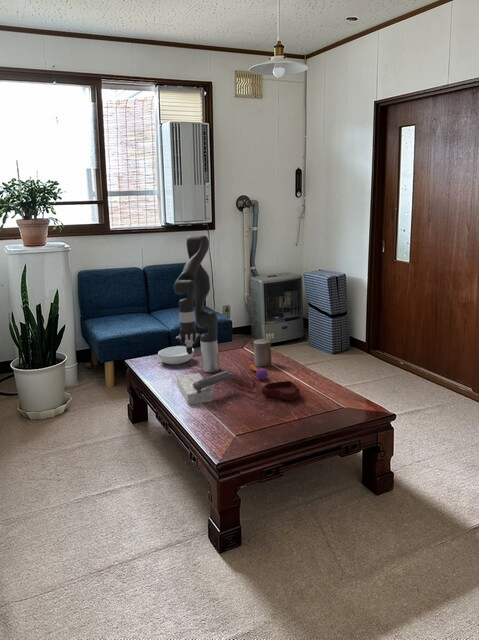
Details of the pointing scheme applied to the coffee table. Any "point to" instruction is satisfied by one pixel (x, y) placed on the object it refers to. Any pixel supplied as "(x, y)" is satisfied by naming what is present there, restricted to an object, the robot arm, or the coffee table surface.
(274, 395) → the ashtray
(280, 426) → the coffee table surface
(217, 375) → the bar
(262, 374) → the kendama
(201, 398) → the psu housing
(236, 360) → the coffee table surface
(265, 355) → the pillar candle
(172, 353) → the serving bowl
